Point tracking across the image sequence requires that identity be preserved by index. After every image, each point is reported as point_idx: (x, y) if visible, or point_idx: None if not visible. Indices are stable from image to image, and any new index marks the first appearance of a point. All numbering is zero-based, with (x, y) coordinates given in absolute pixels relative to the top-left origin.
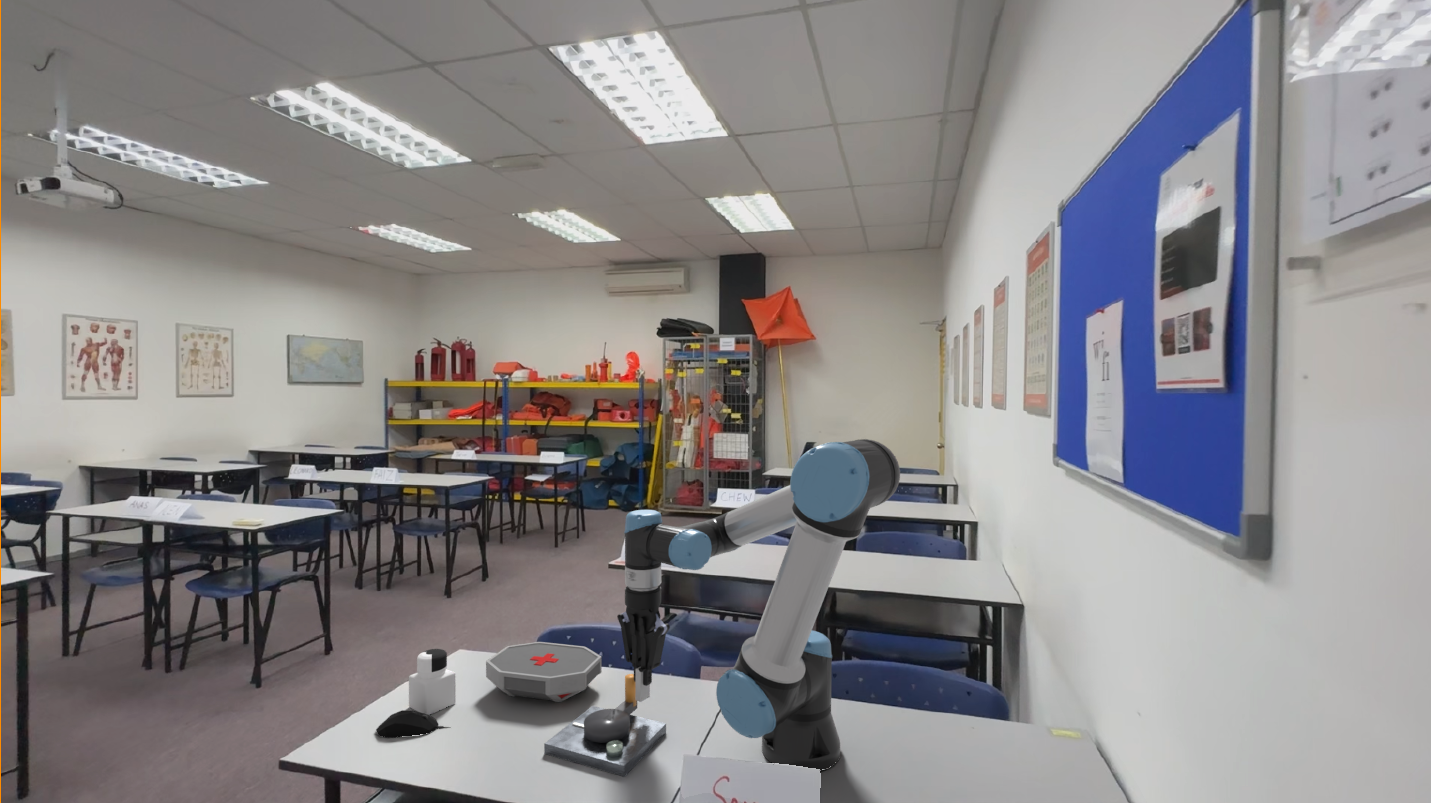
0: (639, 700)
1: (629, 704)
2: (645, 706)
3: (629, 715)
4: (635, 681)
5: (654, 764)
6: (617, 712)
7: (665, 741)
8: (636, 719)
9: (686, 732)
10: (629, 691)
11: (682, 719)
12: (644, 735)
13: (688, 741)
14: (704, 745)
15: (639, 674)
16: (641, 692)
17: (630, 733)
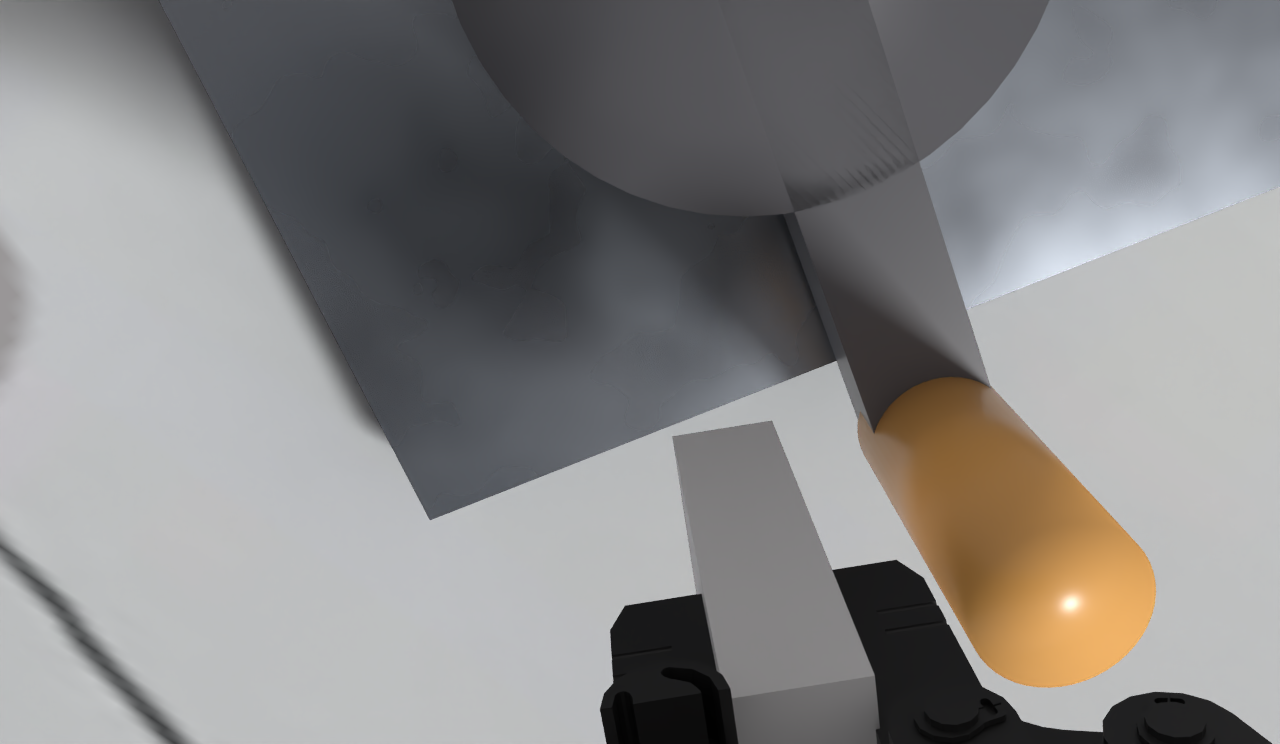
0: (694, 437)
1: (864, 367)
2: None
3: None
4: (873, 566)
5: (19, 38)
6: (816, 131)
7: (316, 380)
8: (726, 340)
9: (317, 614)
10: (946, 455)
11: (533, 719)
12: (376, 202)
13: (170, 535)
14: (15, 597)
15: (752, 643)
16: (686, 508)
17: None
